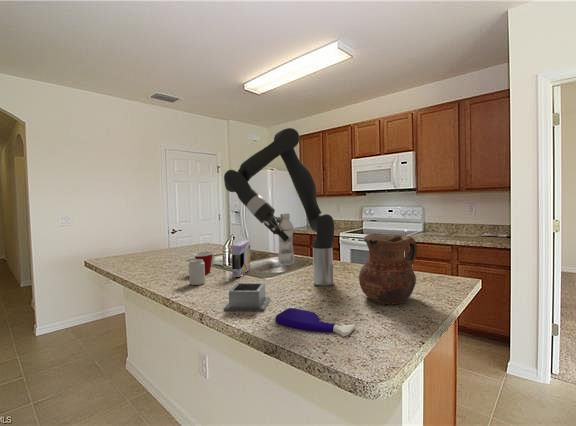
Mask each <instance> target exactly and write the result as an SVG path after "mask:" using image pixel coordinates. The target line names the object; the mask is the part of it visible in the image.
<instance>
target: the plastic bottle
mask: <svg viewBox="0 0 576 426" xmlns="http://www.w3.org/2000/svg"><path fill="white" fill-rule="evenodd" d="M279 217H280V219H281V221H280V222H279V224H280V228H281V229H282V231H283V232H284V233H285V234H286V235H287V236H288V237H289V239H288V240H287V241H284V240H283V239H282V238H281V237H280V236H279V235H277V236H278V245H279V246H278V255H277V256H278V257H277V259H278V263H279V264H280V265H284V266H290V265H292V264H294V262H295V252H294V245H293V238H294V236H293V235H294V225H293V222H291V218H290V217H291V216H290V213H280V216H279Z"/></svg>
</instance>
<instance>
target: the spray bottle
mask: <svg viewBox="0 0 576 426" xmlns="http://www.w3.org/2000/svg"><path fill="white" fill-rule="evenodd" d="M275 323H276V324H277V325H280V326H282V327H287V328H290V329H295V330H299V331H303V332H304V331H305V332H319V333H337V334H338V335H340V336H341V337H342V338H343V337H346V336H348V335H350V334H351V333H352V332H353V331H354V330H355V328H356V325H355V324H354V323H353V324H347V325H345V324H344V323H341V322H338V324H339V325H337V324H336V323H334V322H333V323H329V322H328V321H327V322H325V321H323V320H322V321H321V320H320V317H319V315H318V314H317V313H316V312H313V311H310V310H307V309H306V310H305V309H300V308H296V307H295V308H293V307H288V308H286V309H284V310H283V311H280V313H278V314H276V316H275Z"/></svg>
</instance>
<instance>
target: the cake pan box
mask: <svg viewBox="0 0 576 426" xmlns="http://www.w3.org/2000/svg"><path fill="white" fill-rule="evenodd" d="M250 270H251V240H241V241H239V242H236V243H235V244H232V245H231V273H232V274H231V275H232V277H240V276H241V275H242V274H244V273H245V272H247V271H248V272H250ZM248 272H247V273H248ZM245 274H246V273H245ZM245 274H244V275H245ZM240 278H241V277H240Z"/></svg>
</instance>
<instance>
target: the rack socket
mask: <svg viewBox="0 0 576 426" xmlns="http://www.w3.org/2000/svg"><path fill="white" fill-rule="evenodd" d="M270 301H271V297H270V296H266V283H265V282H237V283H236V284H235V285H234V286H232V287H231V289H230V290H229V291H228V303H227V304H226V305H225V306H224V307H223V311H224V312H265V310H266V308H267V306H268V304H269V302H270Z"/></svg>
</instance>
